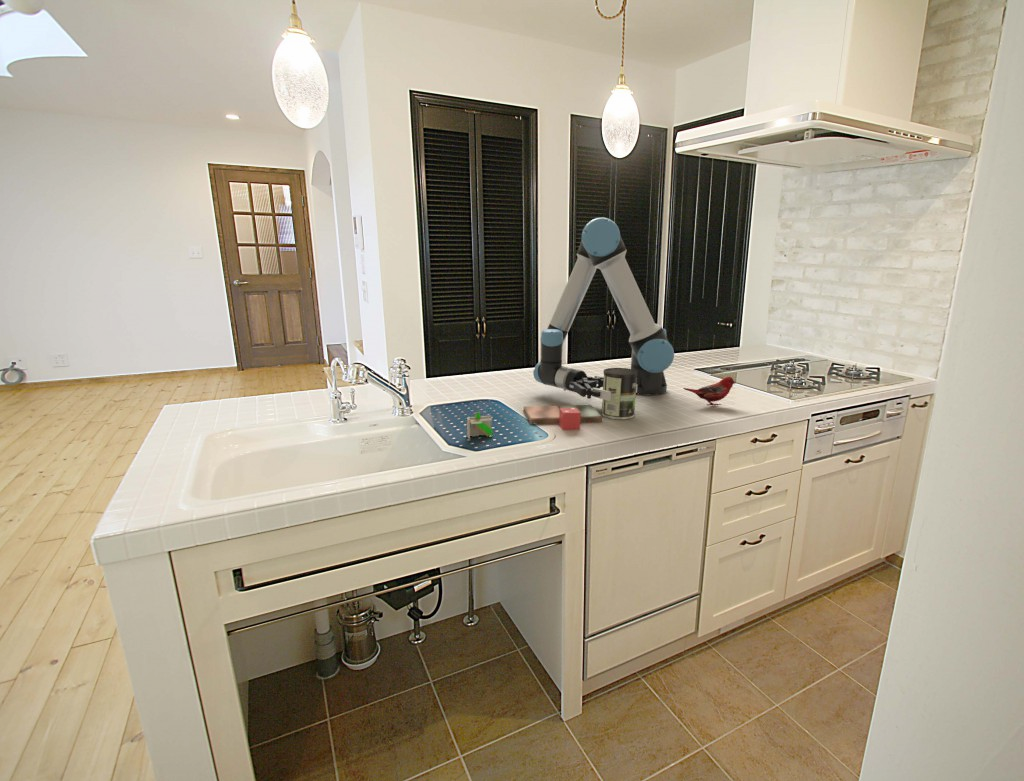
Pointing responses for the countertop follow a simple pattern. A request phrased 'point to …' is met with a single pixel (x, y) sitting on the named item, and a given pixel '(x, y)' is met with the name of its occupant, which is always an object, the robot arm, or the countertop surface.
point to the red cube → (569, 418)
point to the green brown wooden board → (552, 414)
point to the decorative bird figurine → (714, 390)
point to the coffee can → (619, 393)
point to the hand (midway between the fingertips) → (623, 392)
